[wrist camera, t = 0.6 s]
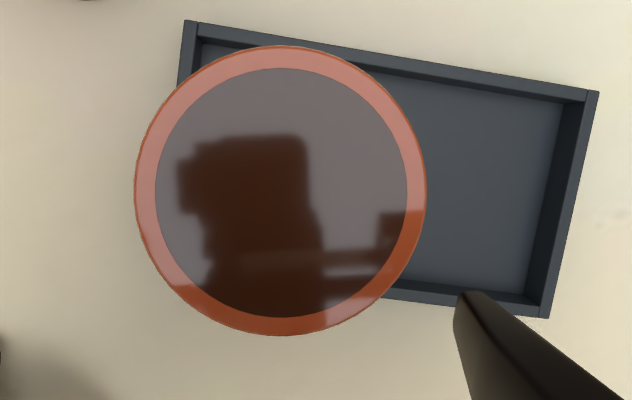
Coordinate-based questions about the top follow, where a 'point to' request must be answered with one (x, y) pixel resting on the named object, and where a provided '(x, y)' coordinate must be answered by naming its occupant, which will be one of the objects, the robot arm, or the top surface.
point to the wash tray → (467, 168)
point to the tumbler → (280, 190)
